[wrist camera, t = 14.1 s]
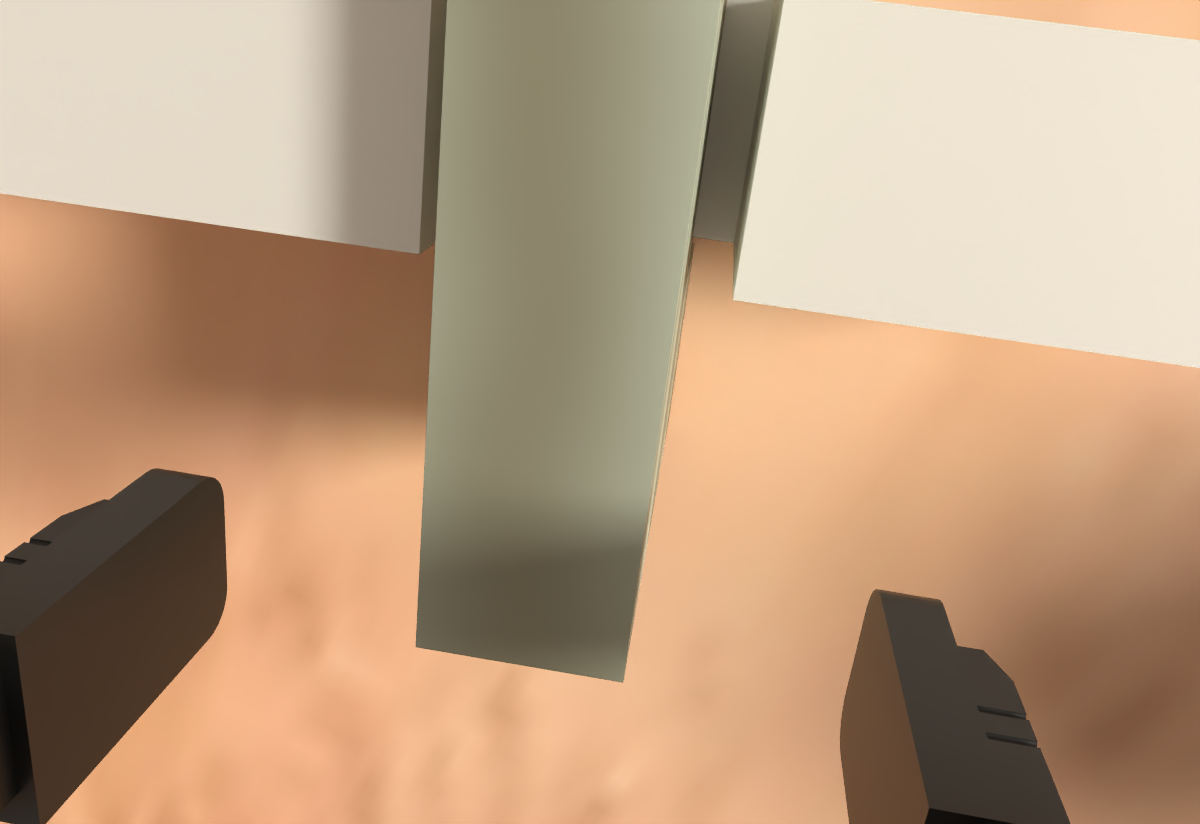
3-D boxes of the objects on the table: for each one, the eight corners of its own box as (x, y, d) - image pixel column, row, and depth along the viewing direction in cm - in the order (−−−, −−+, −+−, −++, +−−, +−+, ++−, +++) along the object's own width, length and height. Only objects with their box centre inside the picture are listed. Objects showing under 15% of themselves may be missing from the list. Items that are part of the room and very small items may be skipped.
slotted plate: (771, -287, 18) (808, -617, 9) (668, 422, 23) (622, 682, 14) (608, -302, 18) (477, -640, 9) (541, 403, 24) (415, 647, 14)
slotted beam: (1276, 66, 19) (1620, 91, 12) (1205, 270, 21) (1469, 407, 13) (89, -79, 21) (-267, -138, 14) (102, 118, 22) (-212, 162, 15)
